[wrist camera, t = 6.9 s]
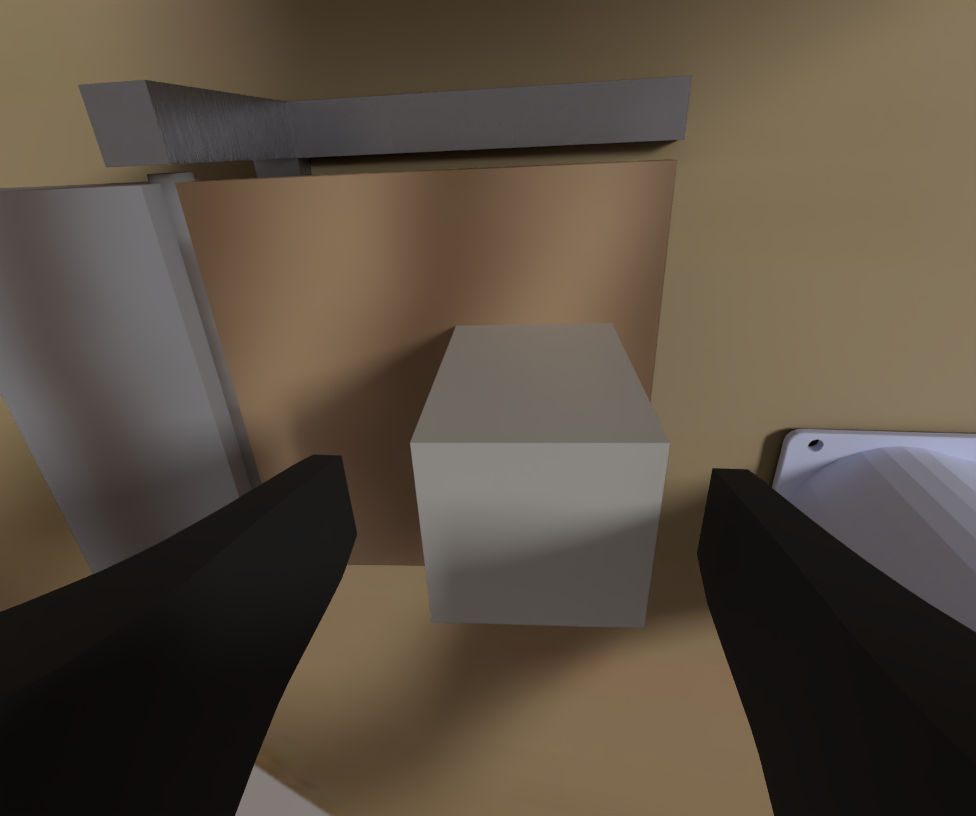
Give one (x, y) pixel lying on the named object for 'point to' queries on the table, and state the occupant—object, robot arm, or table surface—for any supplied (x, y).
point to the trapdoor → (292, 325)
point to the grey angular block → (372, 121)
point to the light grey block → (538, 479)
